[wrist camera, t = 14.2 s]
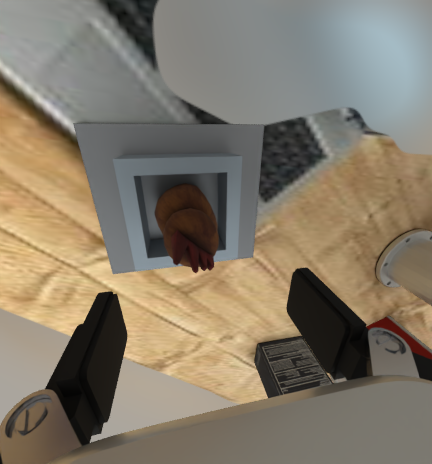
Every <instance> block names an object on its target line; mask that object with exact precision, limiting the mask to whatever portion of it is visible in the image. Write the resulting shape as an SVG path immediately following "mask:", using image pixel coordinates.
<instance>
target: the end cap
mask: <svg viewBox="0 0 432 464" xmlns="http://www.w3.org/2000/svg"><path fill="white" fill-rule="evenodd" d="M73 124H74V128H75V132H76V136H77V139H78V143H79V147H80V151H81V155H82V158H83V162H84V166H85V170H86V174H87V177H88V181H89V185H90V189H91V193H92V196H93V200H94V204H95V208H96V212H97V215H98V219H99V223H100V227H101V231H102V234H103V238H104V242H105V246H106V250H107V253H108V257H109V261H110V265H111V269H112V272H113V274H118V273H126V272H134V271H143V270H151V269H160V268H168V267H176V266H183V265H181V264H178V265H175V264H174V263H173V259H172V258H171V257H170V256H169V254H168V252H167V250H166V248H165V246H164V239H163V234H162V232H161V230H160V228H159V227H158V224H157V221H156V218H155V213H154V212H155V208H156V204H157V201H158V199H159V198H160V197H161V196H162V195H163V193H164V192H165V191H166V190H168V189H170V188H172V187H174V186H176V185H180V184H183V183H187V184H191V185H195V186H197V187H198V188H199V189H200V190H201V191H202V193H203V194H204V195H205V197H206V198H207V200H208V202H209V203H210V205H211V207H212V209H213V212H214V214H215V217H216V221H217V226H218V228H217V232H218V235H219V245H218V249H217V251H216V254H215V256H214V262H218V261H226V260H235V259H243V258H251V257H253V252H254V240H255V228H256V216H257V204H258V192H259V180H260V168H261V156H262V144H263V132H264V125H242V124H241V125H240V124H90V123H73Z"/></svg>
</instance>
